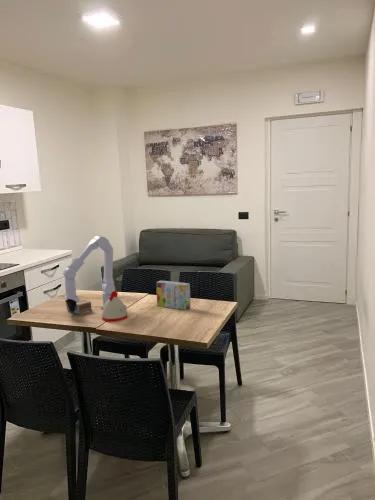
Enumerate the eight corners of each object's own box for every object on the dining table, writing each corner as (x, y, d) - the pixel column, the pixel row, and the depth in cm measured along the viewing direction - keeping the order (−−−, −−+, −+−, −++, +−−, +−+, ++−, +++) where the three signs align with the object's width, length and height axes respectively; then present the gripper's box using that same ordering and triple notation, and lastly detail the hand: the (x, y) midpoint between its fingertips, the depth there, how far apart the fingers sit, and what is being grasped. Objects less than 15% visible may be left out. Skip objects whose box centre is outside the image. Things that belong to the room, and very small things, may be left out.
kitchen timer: (131, 314, 230) (130, 289, 228) (119, 322, 217) (117, 295, 215) (110, 313, 235) (108, 287, 232) (97, 320, 222) (95, 294, 220)
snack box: (191, 308, 238) (190, 283, 236) (186, 310, 234) (185, 285, 231) (161, 303, 249) (160, 279, 247) (156, 306, 245) (155, 281, 242)
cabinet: (91, 310, 240) (90, 301, 240) (79, 313, 235) (78, 305, 234) (80, 306, 249) (80, 298, 248) (69, 310, 243) (68, 301, 242)
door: (66, 309, 243) (65, 300, 242) (68, 309, 243) (67, 300, 242) (77, 313, 234) (77, 304, 233) (79, 313, 235) (79, 304, 234)
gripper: (57, 288, 234) (59, 310, 236) (70, 292, 224) (72, 315, 226) (69, 285, 239) (70, 308, 241) (82, 289, 229) (83, 312, 231)
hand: (72, 311), depth 234 cm, fingers closed
